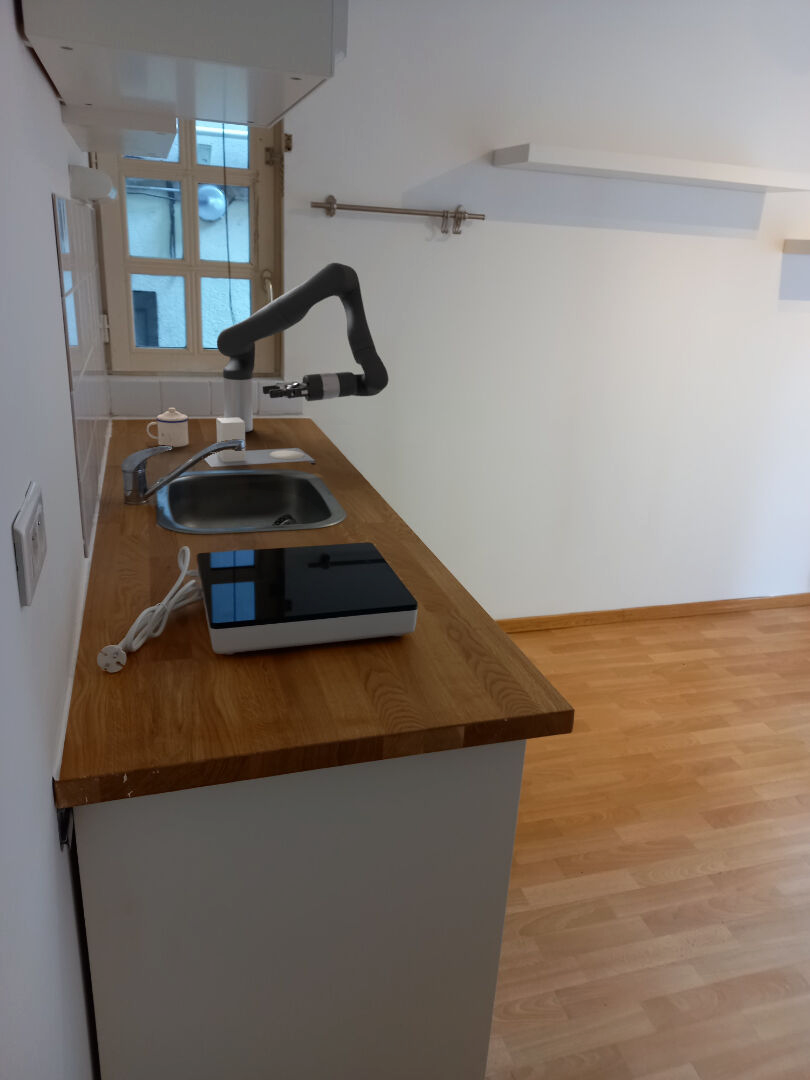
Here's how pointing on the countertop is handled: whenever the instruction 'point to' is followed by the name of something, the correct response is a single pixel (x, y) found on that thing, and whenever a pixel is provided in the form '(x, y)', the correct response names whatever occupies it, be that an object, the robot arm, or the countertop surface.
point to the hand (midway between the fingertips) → (266, 392)
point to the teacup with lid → (171, 428)
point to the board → (263, 457)
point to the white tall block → (230, 437)
